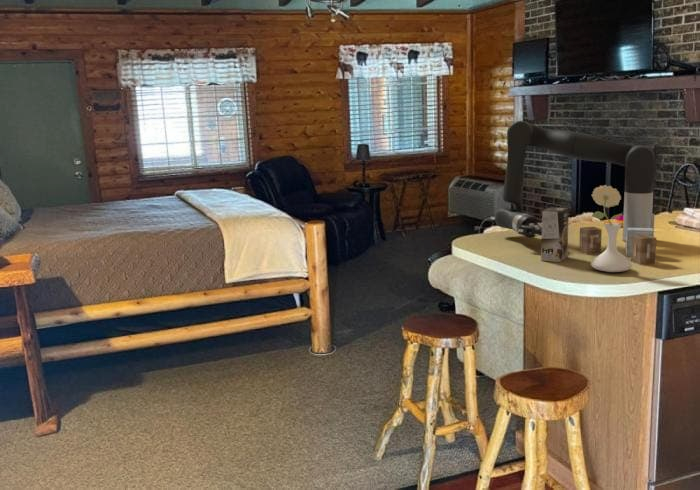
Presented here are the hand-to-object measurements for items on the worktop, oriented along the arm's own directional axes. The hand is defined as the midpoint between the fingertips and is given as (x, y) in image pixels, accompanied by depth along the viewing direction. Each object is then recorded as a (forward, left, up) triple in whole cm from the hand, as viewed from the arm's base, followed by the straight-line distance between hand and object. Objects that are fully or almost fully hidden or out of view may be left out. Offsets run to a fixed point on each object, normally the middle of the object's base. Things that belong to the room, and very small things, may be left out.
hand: (546, 233), depth 219 cm
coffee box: (0, +6, -7) cm, 10 cm away
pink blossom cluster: (-49, -43, -8) cm, 65 cm away
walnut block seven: (-15, 0, -7) cm, 17 cm away
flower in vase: (-9, +25, -7) cm, 27 cm away
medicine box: (-27, +9, -7) cm, 30 cm away
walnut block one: (-23, +18, -7) cm, 30 cm away
